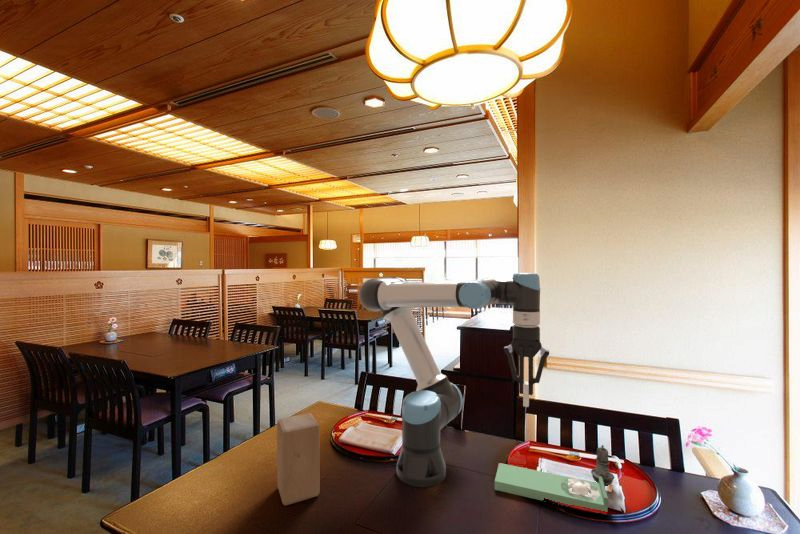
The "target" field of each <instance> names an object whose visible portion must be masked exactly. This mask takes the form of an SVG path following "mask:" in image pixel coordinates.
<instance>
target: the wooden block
mask: <svg viewBox="0 0 800 534" xmlns="http://www.w3.org/2000/svg"><path fill="white" fill-rule="evenodd" d="M276 428H277V429H276V435H277V437H276V439H277V440H276V441H277V443H276V448H277V450H276V452H277V458H276V459H277V462H276V463H277V464H276V465H277V469H276V472H277V476H276V477H277V479H276V480H277V481H276V482H277V483H276V484H277V489H278V492H279V496H280V499H281V503H282V505H283V506H288V505H292V504H297V503H299V502H302V501H305V500H309V499H312V498H315V497H318V496H319V494H320V486H321V485H320V477H321V475H320V464H321V463H320V425H319V423H318V421H317V420H316V418H315V417H314V415H313V414H312V413H310V412H309V413H303V414H297V415H292V416H288V417H287V416H286V417H281V418H279V419H277V422H276Z"/></svg>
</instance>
